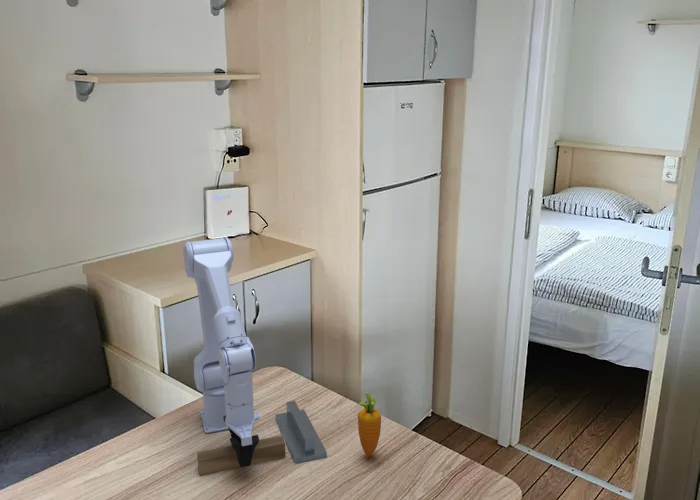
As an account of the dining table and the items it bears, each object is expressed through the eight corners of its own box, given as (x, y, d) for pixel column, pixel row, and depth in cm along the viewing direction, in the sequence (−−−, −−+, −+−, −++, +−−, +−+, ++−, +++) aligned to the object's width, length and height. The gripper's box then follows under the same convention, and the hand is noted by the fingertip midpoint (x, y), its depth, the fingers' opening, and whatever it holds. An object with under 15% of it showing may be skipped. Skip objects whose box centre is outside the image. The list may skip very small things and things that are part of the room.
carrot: (378, 465, 134) (379, 402, 129) (355, 462, 135) (355, 400, 130) (381, 451, 138) (383, 390, 134) (359, 448, 139) (360, 388, 135)
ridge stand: (275, 418, 150) (275, 401, 149) (304, 413, 153) (303, 396, 151) (295, 463, 134) (294, 444, 133) (326, 456, 136) (326, 438, 135)
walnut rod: (198, 468, 133) (197, 452, 131) (281, 451, 139) (281, 435, 138) (200, 477, 130) (199, 460, 129) (285, 458, 136) (285, 442, 135)
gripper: (266, 413, 125) (268, 472, 129) (251, 379, 138) (253, 433, 142) (230, 420, 122) (233, 479, 126) (218, 384, 135) (222, 439, 139)
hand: (242, 456), depth 134 cm, fingers open, 6 cm apart
